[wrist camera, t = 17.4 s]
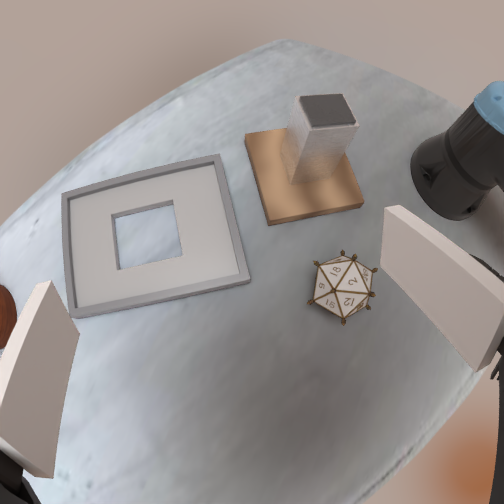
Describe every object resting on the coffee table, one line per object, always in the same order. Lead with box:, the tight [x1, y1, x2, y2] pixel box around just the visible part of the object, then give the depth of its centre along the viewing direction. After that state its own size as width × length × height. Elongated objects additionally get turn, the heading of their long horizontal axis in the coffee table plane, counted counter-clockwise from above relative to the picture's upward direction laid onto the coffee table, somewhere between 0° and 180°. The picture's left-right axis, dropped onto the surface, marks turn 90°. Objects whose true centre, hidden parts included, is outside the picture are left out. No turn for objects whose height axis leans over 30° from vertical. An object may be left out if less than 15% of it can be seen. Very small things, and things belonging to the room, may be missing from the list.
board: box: [245, 128, 364, 226], centre depth 46 cm, size 14×14×2 cm
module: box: [280, 93, 359, 185], centre depth 38 cm, size 6×5×13 cm
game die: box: [307, 250, 378, 326], centre depth 38 cm, size 9×8×10 cm
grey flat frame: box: [61, 154, 250, 319], centre depth 41 cm, size 24×18×2 cm
